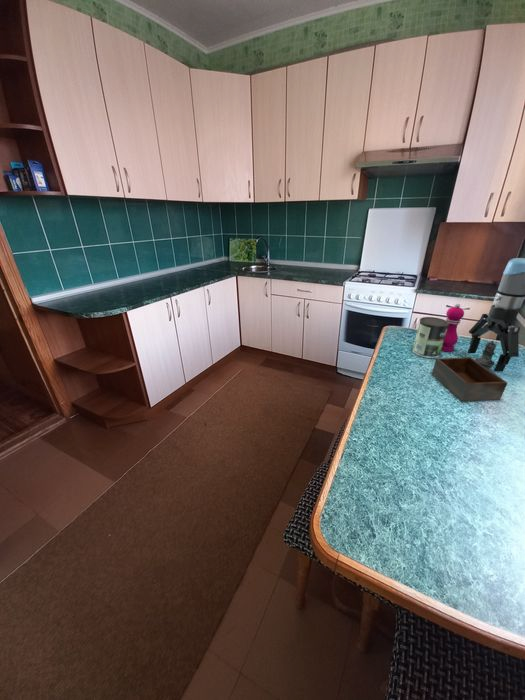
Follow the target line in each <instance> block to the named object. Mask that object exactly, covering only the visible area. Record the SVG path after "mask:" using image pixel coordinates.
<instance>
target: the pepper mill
mask: <svg viewBox="0 0 525 700" xmlns="http://www.w3.org/2000/svg"><path fill="white" fill-rule="evenodd" d="M445 315H446V319H445V320H446V321H448V322H449V326H448V328H447V332H446V335H445V339H444V342H443V345H442V349H441V352H447V353H451V352H453V351H454V349H455V345H457V343H458V341H459V340H458V338H459V336H458V333H457V329H458V326H459V324H460V323H461V321H462V320H461V319H463V318H464V316H465V311H464V309H463V308H462V307H461V304H460V303H455V304H454V306H451V307H449V308H448V309H447V310H446V314H445Z"/></svg>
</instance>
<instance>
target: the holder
mask: <svg viewBox="0 0 525 700" xmlns="http://www.w3.org/2000/svg"><path fill="white" fill-rule="evenodd" d="M431 375H432V376H433V377H434V378H435V379H436V380H437V381H438V382H439V383H440V384H441V385H443V387H444V388H446V389H447V390H448V391H449V393H451V394H452V395H453V396H454V397H456V399H458V400H459V401H460V402H461V403H466V402H467V403H469V402H488V401H501V399H502V396H503V395H504V392H505V390H506V387H507V385H508V382H507V381H506V380H504V379H503V378H501V377H500V376H498V375H497V374H496V373H494V371H491V370H490V369H489V370H488V369H487V368H485V367H484V366H482V365H481V364H480V363H478V362H477V361H476V360H475V359H473V358H472V357H470V356H467V357H466V356H465V357H443V358H439V357H438V358H435V361H434V365H433V367H432V371H431Z"/></svg>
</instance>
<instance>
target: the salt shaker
mask: <svg viewBox="0 0 525 700" xmlns="http://www.w3.org/2000/svg"><path fill="white" fill-rule="evenodd" d="M496 347H497V344H496V343H494V340H491V341H490V342H487V343H486V344H485V346H484V349H482V354H481V356H480V357H476V358H475V359H474V360H475V361H477V362H478V363H480V364H481V365H482V366H484V367H485V368H487V369H488V370H490V369H492V367H493V366H495V364H496V363H495V361H493V359H492V358H493V356H494V355H495V350H496Z"/></svg>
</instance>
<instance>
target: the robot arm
mask: <svg viewBox="0 0 525 700" xmlns="http://www.w3.org/2000/svg"><path fill="white" fill-rule="evenodd" d="M524 300H525V258H524V257H515V258H510V260H508V262H507V264H506V266H505V269H504V270H503V272H502V276H501V278H500V282H499V285H498V289H497V290H496V294H495V295H494V299H493V301H492V305H491V306H490V309H489V312H488V313H482V314H481V316H480V318H479V319H478V321H476V322H475V324H474V325H473V326H472V327H471V328H470V329H469V330H468V334H471V339H470V342H469V347H468V350H467V354H468V355H469V354H476V353H477V350H478V348H479V345H480V342H481V339H482V336H483V335H484V334H486V333H488V332H490V331H491V332H493V333H494V334H496V335H497V337H498V338H499V341H500V342H499V343H500V346H501V347H500V348H501V351H502V353H500V355H499V357H498V360H497V362H496V363H495V364H496V365H495V367H494V369H493V372H497V373H498V372H499V373H500V372H504V370H505V368H506V365H508V364H509V362H510V361H511V358H517V357H519V356H520V352H519V351H520V350H519V349H520V348H519V345H520V344H519V333H520V331H521V327H520V326H514V325H513V322H514V321H516V320H517V317H518V315H519V312H520V309H521V307H522V305H523V303H524Z"/></svg>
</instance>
